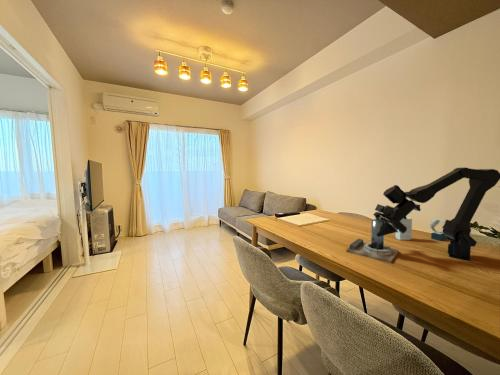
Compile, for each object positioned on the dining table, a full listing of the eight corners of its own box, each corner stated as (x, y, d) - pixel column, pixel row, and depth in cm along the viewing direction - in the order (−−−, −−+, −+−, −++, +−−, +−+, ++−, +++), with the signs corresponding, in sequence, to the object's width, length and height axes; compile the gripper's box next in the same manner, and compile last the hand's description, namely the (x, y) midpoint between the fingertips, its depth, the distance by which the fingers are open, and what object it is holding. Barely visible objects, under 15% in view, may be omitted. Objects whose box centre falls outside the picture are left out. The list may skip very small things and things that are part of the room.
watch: (433, 236, 117) (434, 217, 116) (451, 240, 110) (452, 220, 109) (427, 237, 115) (427, 218, 115) (444, 242, 108) (445, 221, 107)
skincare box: (406, 237, 116) (407, 216, 115) (411, 240, 112) (412, 218, 111) (395, 237, 117) (395, 216, 116) (399, 240, 112) (400, 218, 111)
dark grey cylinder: (386, 249, 94) (387, 221, 93) (376, 250, 93) (377, 222, 92) (378, 245, 99) (378, 219, 98) (368, 246, 98) (369, 219, 97)
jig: (398, 251, 97) (399, 245, 97) (390, 263, 86) (391, 256, 85) (357, 242, 110) (357, 237, 109) (346, 251, 98) (346, 245, 98)
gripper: (377, 195, 103) (354, 217, 105) (399, 201, 84) (370, 227, 87) (394, 211, 102) (370, 232, 105) (420, 220, 84) (390, 246, 86)
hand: (374, 234), depth 96 cm, fingers closed on dark grey cylinder, 5 cm apart
